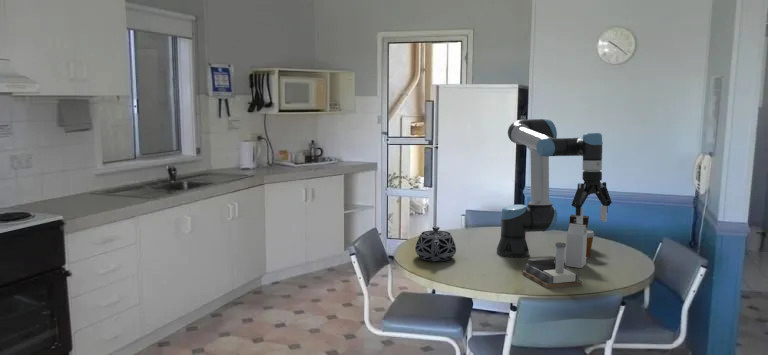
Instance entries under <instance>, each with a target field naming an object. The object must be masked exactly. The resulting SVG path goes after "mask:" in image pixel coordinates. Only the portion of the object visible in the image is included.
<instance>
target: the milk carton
mask: <svg viewBox="0 0 768 355" xmlns="http://www.w3.org/2000/svg"><path fill="white" fill-rule="evenodd" d="M569 224H570V226H569V225H568V230H567V232H566V247H565V248H566V251H565V252H566V253H565V266H566V267H571V268H579V269H582V268H583V267H584V266H585V265H586V264H587V261H586V260H587V257H586V246H587V230H586V225H580V224H571V223H570V222H569Z"/></svg>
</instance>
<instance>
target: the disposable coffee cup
mask: <svg viewBox="0 0 768 355" xmlns="http://www.w3.org/2000/svg"><path fill="white" fill-rule="evenodd" d="M594 236H595V232H594V231H593V230H592V229H588V230H587V246H586V258H589V257H591V251H592V245H593V239H594Z"/></svg>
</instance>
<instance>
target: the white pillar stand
mask: <svg viewBox="0 0 768 355" xmlns="http://www.w3.org/2000/svg"><path fill="white" fill-rule="evenodd" d="M566 246H567V243H565V242H560V241H559V242H558V241H557V242H555V249H556V250H555V251H556V252H555V263H556V268H555V270H543V272H545V273H546V274H548V275H550V276H552V277H553V280H552V283H562V282H573V281H575V278H576V274H574V273H572V272H570V271H568V270H566V269H564V267H565V248H566Z"/></svg>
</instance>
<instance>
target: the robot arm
mask: <svg viewBox="0 0 768 355" xmlns="http://www.w3.org/2000/svg"><path fill="white" fill-rule="evenodd" d="M557 131H558V130H557V128H556V125H555V123H554V122H553V121H552V120H550V119H544V118H539V119H536V118H535V119H530V118H529V119H524V118H522V119H518V120H515V121H514V122H512V123H511V124H510V125H509V126H508V130H507V136H508V139H509V140H510V141H511V142H512V143H513V144H516V145H519V146H520V145H523V146H526V148H527V149H528V150H529V151H530V201H529V202H527V206H526V205H524V204H511V205H510V204H509V205H506V206H504V207H503V208H502V210H501V215H500V239H499V241H498V244H497V247H496V254H497V255H498V256H502V257H507V258H524V257H527V256H528V255H529V250H530V249H529V246H528V243H527V239H526V233H530V232H531V233H532V232H533V233H534V232H549V231H552V230H554V228H555V227H556V225H557V222H558V211H557V208H556V207H554V206H553V202H552V201H550V157H582V170H583V171H582V181H583V183H582V182H578V183H577V189H576V190H575V195H574V196H573V199H572V202H571V206H572V207H573V208H574V209H575V215H576V216H577V221H576V223H577V224H583V216H584V207H583V205H584V204H585V202H586V201H587V199H588V197H589V196H590V195H594V194H595V196H596V197H597V199H598V200H599V202H600V203H601V205H600V214H599V215H600V219H599V221H600V222H603V223H604V222H605V223H606V222H608V220H607V219H608V207H610V206H611V204H612V199H611V196H610V194H609V189H608V188H607V182H606V181H602V180H603V173H602V170H603V144H604V143H603V135H602V133H600V132H593V133H592V132H589V133H588V132H587V133H583V135H582V137H566V138H565V137H564V138H563V137H562V138H561V137H560V138H559V137H558V132H557ZM557 137H558V138H557Z"/></svg>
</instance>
